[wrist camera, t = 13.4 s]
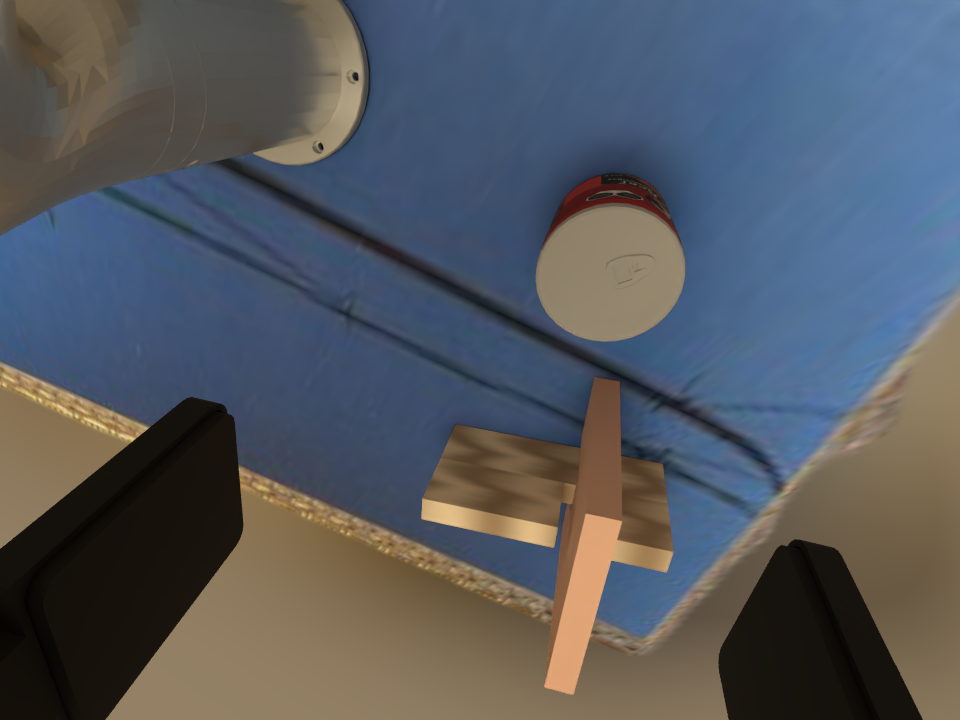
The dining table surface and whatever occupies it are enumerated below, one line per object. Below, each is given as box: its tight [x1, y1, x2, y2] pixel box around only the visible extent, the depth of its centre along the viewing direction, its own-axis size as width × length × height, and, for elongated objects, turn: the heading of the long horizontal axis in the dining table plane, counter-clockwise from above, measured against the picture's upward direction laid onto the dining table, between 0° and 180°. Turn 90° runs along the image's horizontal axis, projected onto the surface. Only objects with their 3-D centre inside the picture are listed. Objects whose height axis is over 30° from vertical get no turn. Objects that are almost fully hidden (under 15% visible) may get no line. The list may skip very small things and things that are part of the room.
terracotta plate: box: [544, 377, 622, 695], centre depth 42 cm, size 2×16×16 cm, turn 175°
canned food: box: [536, 174, 685, 341], centre depth 35 cm, size 8×8×11 cm
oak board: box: [422, 424, 673, 572], centre depth 45 cm, size 18×2×10 cm, turn 85°
